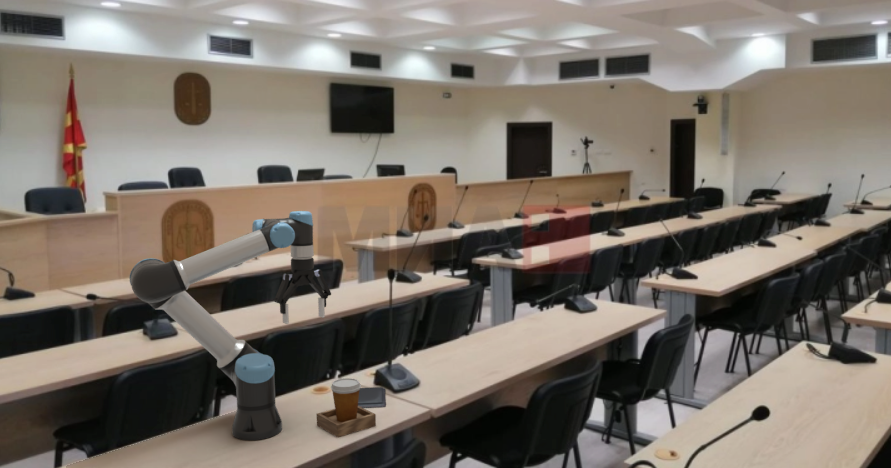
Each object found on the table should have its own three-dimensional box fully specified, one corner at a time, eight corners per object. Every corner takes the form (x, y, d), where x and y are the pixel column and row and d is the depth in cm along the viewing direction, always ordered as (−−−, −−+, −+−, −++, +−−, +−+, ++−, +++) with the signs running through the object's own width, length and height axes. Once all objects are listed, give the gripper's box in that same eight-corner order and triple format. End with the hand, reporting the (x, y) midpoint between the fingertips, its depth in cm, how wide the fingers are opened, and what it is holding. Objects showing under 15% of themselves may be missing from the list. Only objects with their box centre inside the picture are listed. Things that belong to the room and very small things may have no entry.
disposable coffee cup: (355, 425, 224) (355, 388, 223) (327, 423, 227) (326, 386, 225) (365, 414, 234) (364, 378, 232) (338, 412, 236) (337, 376, 234)
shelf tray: (337, 437, 221) (337, 425, 220) (316, 425, 230) (316, 413, 230) (375, 425, 230) (375, 414, 229) (353, 414, 239) (353, 403, 239)
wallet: (385, 404, 245) (340, 405, 245) (385, 409, 246) (341, 410, 245) (386, 384, 265) (345, 386, 264) (386, 389, 266) (345, 391, 265)
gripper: (328, 252, 251) (330, 312, 254) (262, 260, 235) (264, 323, 237) (340, 255, 245) (341, 316, 248) (273, 262, 229) (275, 327, 232)
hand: (304, 320), depth 243 cm, fingers open, 13 cm apart
